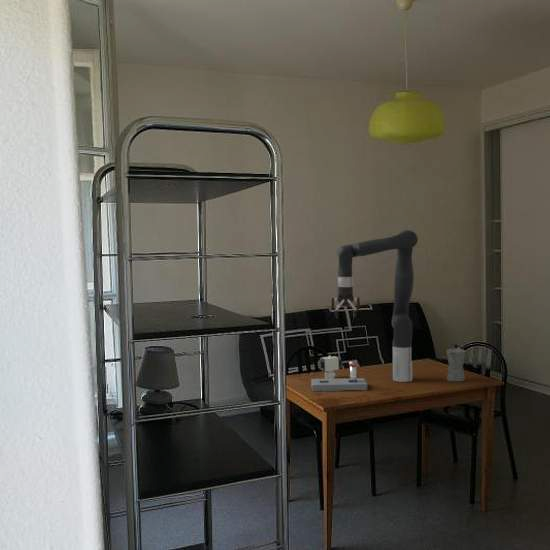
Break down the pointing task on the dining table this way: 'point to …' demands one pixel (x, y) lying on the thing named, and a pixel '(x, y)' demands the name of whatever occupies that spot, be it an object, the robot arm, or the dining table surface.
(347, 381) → the mount board
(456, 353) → the coffeepot
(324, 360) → the pneumatic valve
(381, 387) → the dining table surface
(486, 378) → the dining table surface
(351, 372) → the lock pin
